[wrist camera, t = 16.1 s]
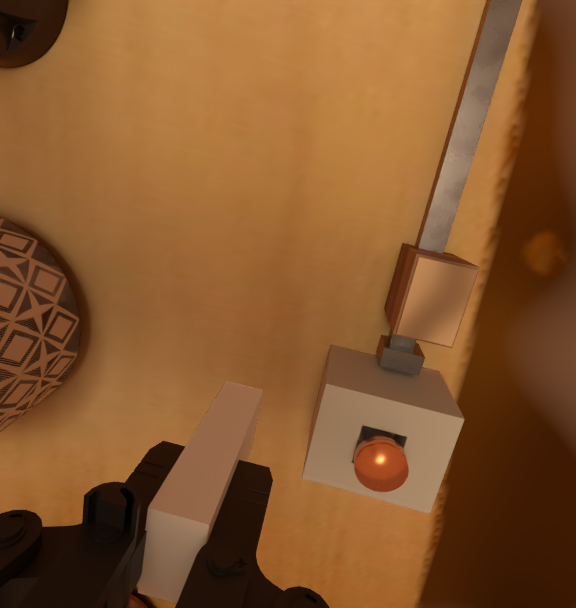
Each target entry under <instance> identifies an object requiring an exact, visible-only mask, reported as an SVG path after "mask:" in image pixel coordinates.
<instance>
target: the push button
mask: <svg viewBox="0 0 576 608" xmlns="http://www.w3.org/2000/svg"><path fill="white" fill-rule="evenodd" d="M363 439H364V441H363V442H361V443H360V444H359V445H358V447H357V449H356V451H355V454H354V470H355V474H356V477H357V479H358V480H359V482H360V483H361V484H362V485H364V486H365V487H366V488H368V489H370V490H373V491H376V492H389V491H393V490H395V489H397V488H399V487H400V486H402V485H403V484H404V482H405V481H406V479H407V477H408V473H409V467H408V463H407V458H406V454H405V451H404V450H403V448H402V447H401V445H400V444H399V443H397V442H396V441H394V440H393V439H392V436H391V432H387V431H383V430H379V429H376V428H372V427H368V426H364V425H363Z"/></svg>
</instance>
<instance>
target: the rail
mask: <svg viewBox="0 0 576 608" xmlns="http://www.w3.org/2000/svg"><path fill="white" fill-rule="evenodd" d="M521 3H522V0H487V1H486V4H485V8H484V11H483V15H482V18H481V22H480V25H479V28H478V32H477V35H476V39H475V42H474V46H473V49H472V52H471V56H470V59H469V63H468V66H467V70H466V73H465V77H464V80H463V83H462V87H461V90H460V94H459V97H458V101H457V104H456V107H455V111H454V114H453V118H452V121H451V125H450V128H449V131H448V135H447V138H446V142H445V145H444V149H443V152H442V155H441V159H440V162H439V166H438V169H437V173H436V176H435V179H434V183H433V186H432V190H431V193H430V197H429V200H428V203H427V207H426V210H425V214H424V217H423V221H422V224H421V227H420V231H419V234H418V238H417V241H416V245H415V247H416V248H420V249H425V250H429V251H434V252H438V253H444V249H445V246H446V243H447V240H448V237H449V233H450V230H451V227H452V224H453V221H454V217H455V214H456V211H457V208H458V205H459V201H460V198H461V195H462V192H463V189H464V185H465V182H466V179H467V176H468V173H469V169H470V166H471V163H472V160H473V157H474V153H475V150H476V147H477V144H478V141H479V137H480V134H481V131H482V128H483V125H484V121H485V118H486V115H487V112H488V109H489V105H490V102H491V99H492V96H493V93H494V89H495V86H496V83H497V80H498V76H499V73H500V70H501V67H502V64H503V60H504V57H505V54H506V51H507V48H508V44H509V41H510V38H511V35H512V32H513V28H514V25H515V22H516V19H517V16H518V12H519V9H520V6H521ZM415 342H416V339H412V338H408V337H404V336H400V335H396V334H393V332H392V329H391V330H390V334H389V337H388V336H384V335H381V338H380V341H379V345H378V348H377V357H378V362H379V366H382V367H386V368H390V369H394V370H398V371H402V372H406V373H410V374H414V375H418V376H419V374H420V371H421V368H422V365H423V362H424V359H425V357H424V355H423V353H422V351H421V348H420V346H419V344H417V343H415Z"/></svg>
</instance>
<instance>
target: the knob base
mask: <svg viewBox="0 0 576 608" xmlns="http://www.w3.org/2000/svg"><path fill="white" fill-rule="evenodd" d="M463 422H464V417H463V415H462V413H461V412H460V410H459V408H458V406H457V404H456V402H455V400H454V398H453V397H452V395H451V393H450V391H449V389H448V387H447V385H446V383H445V382H444V380H443V378H442V376H441V374H440V372H439V371H435V370H431V369H427V368H423V367H422V368H421V371H420V374H419V376H418V375H414V374H410V373H406V372H402V371H398V370H394V369H390V368H386V367H382V366H379V362H378V357H377V356H374V355H370V354H366V353H362V352H358V351H354V350H350V349H346V348H342V347H338V346H334V345H331V347H330V351H329V355H328V359H327V363H326V367H325V371H324V375H323V379H322V383H321V387H320V391H319V395H318V399H317V403H316V407H315V411H314V415H313V419H312V423H311V429H310V434H309V440H308V446H307V452H306V458H305V463H304V469H303V475H302V478H303V479H307V480H310V481H314V482H318V483H321V484H325V485H328V486H332V487H335V488H339V489H343V490H346V491H350V492H353V493H357V494H360V495H364V496H368V497H371V498H375V499H378V500H382V501H386V502H389V503H393V504H396V505H400V506H403V507H407V508H411V509H414V510H418V511H421V512H425V513H429V514H430V511H431V509H432V506H433V503H434V500H435V498H436V495H437V492H438V490H439V487H440V484H441V481H442V479H443V476H444V473H445V471H446V468H447V465H448V462H449V460H450V457H451V454H452V452H453V449H454V446H455V443H456V441H457V438H458V435H459V432H460V430H461V427H462V424H463ZM363 425H364V426H368V427H372V428H376V429H379V430H383V431H387V432H391V436H392V439H393V440H394V441H396V442H397V443H399V444H400V445H401V447H402V448H403V450H404V451H405V454H406V458H407V463H408V467H409V473H408V477H407V479H406V481H405V482H404V484H403V485H402V486H400V487H399V488H397V489H395V490H393V491H389V492H376V491H373V490H370V489H368V488H366V487H365V486H364V485H362V484H361V483H360V482H359V480H358V479H357V477H356V474H355V470H354V454H355V451H356V449H357V447H358V445H359V444H360V443H361V442H363V441H364V439H363Z"/></svg>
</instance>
